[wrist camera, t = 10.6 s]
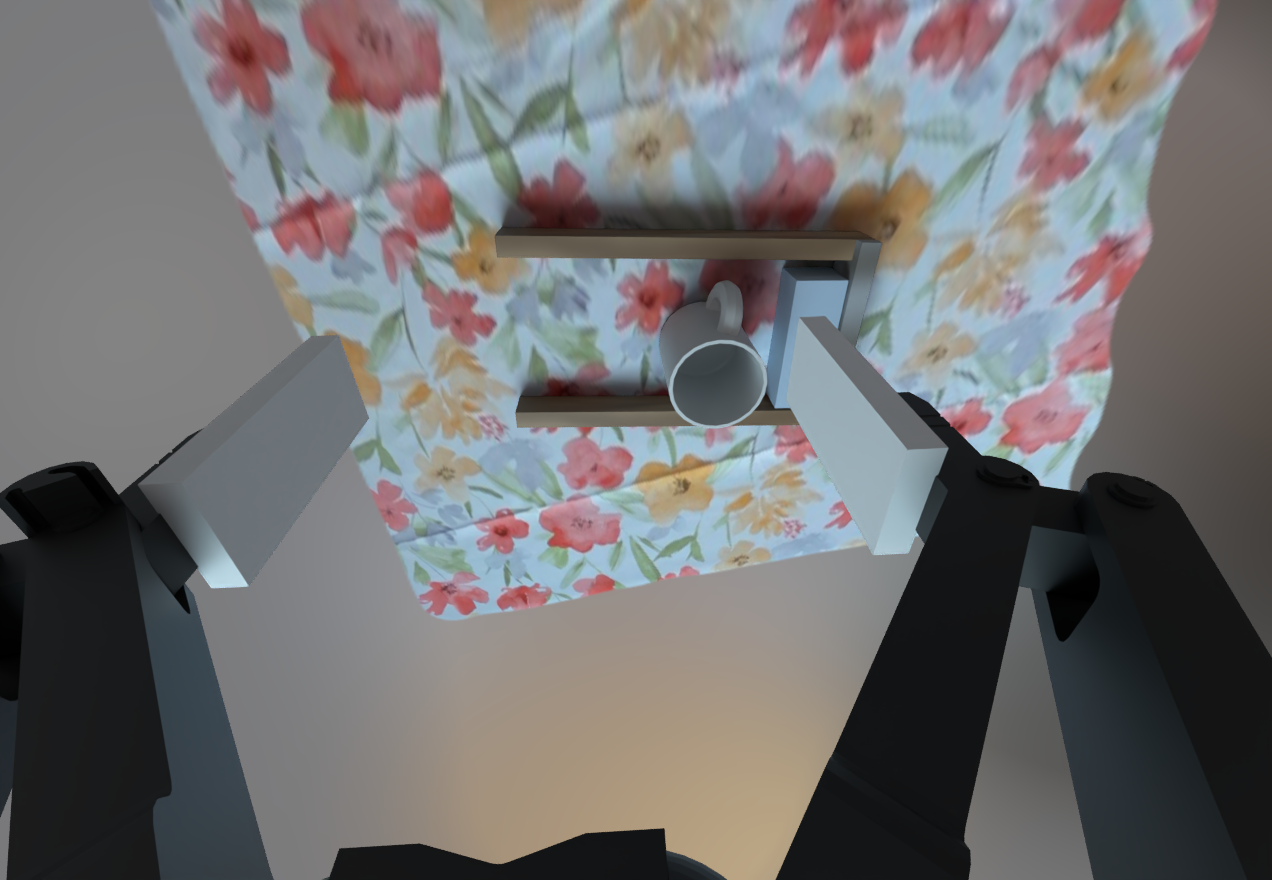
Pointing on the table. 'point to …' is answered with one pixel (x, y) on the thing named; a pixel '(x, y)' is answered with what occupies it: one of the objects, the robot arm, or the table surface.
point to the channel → (845, 247)
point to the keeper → (798, 298)
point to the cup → (712, 361)
